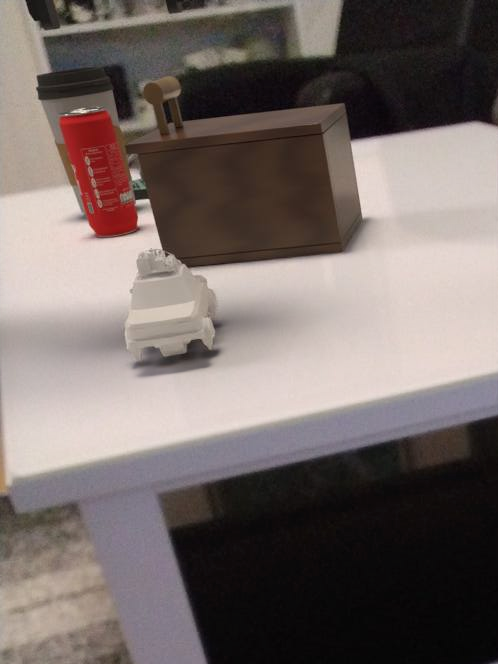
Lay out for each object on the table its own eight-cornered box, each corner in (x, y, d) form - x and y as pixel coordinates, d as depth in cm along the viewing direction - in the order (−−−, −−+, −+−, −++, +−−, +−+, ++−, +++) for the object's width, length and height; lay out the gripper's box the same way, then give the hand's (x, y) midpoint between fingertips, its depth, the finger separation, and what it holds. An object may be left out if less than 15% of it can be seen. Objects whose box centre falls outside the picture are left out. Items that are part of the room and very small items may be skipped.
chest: (167, 268, 95) (136, 153, 89) (205, 234, 106) (180, 130, 100) (342, 251, 93) (322, 133, 88) (362, 219, 104) (346, 112, 99)
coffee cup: (106, 205, 127) (66, 69, 119) (159, 204, 124) (123, 63, 116) (60, 222, 121) (15, 78, 113) (115, 220, 118) (73, 73, 109)
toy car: (223, 316, 79) (201, 224, 75) (217, 364, 69) (192, 260, 65) (145, 327, 79) (119, 235, 75) (128, 378, 69) (97, 274, 65)
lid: (126, 154, 89) (109, 90, 86) (171, 131, 100) (157, 74, 98) (322, 133, 88) (311, 67, 85) (346, 112, 99) (336, 53, 96)
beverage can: (115, 238, 109) (79, 113, 102) (83, 237, 112) (46, 115, 105) (150, 226, 113) (118, 105, 106) (119, 225, 115) (85, 106, 108)
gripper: (159, -293, 65) (222, 6, 74) (-66, -266, 64) (25, 32, 73) (138, -322, 58) (210, 10, 67) (-112, -291, 58) (-6, 38, 67)
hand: (113, 21), depth 70 cm, fingers open, 8 cm apart
